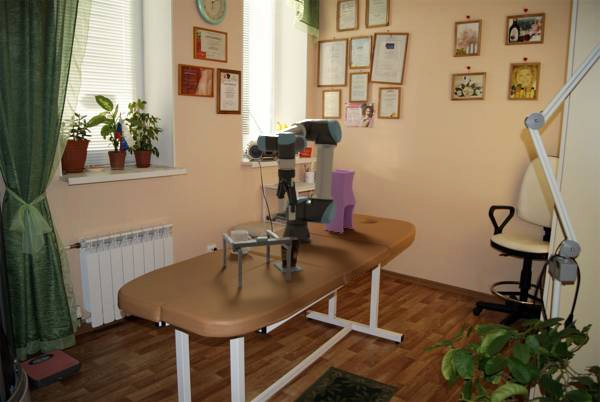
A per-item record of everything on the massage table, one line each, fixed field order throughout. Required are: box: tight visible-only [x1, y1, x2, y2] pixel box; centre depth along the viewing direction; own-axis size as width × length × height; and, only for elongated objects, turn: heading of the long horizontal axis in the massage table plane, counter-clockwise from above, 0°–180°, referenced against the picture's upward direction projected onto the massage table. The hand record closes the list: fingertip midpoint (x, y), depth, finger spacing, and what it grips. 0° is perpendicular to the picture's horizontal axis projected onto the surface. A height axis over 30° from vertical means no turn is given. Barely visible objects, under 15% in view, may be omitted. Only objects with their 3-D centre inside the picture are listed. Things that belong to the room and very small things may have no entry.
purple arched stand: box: [323, 168, 357, 234], centre depth 282 cm, size 14×14×35 cm
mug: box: [230, 229, 254, 255], centre depth 233 cm, size 12×8×10 cm
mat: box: [273, 262, 303, 273], centre depth 213 cm, size 12×9×1 cm
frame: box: [222, 229, 292, 288], centre depth 202 cm, size 28×22×15 cm
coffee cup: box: [280, 236, 301, 268], centre depth 211 cm, size 9×8×13 cm
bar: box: [230, 236, 292, 252], centre depth 192 cm, size 3×24×5 cm, turn 112°
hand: (286, 216), depth 213 cm, fingers open, 13 cm apart
